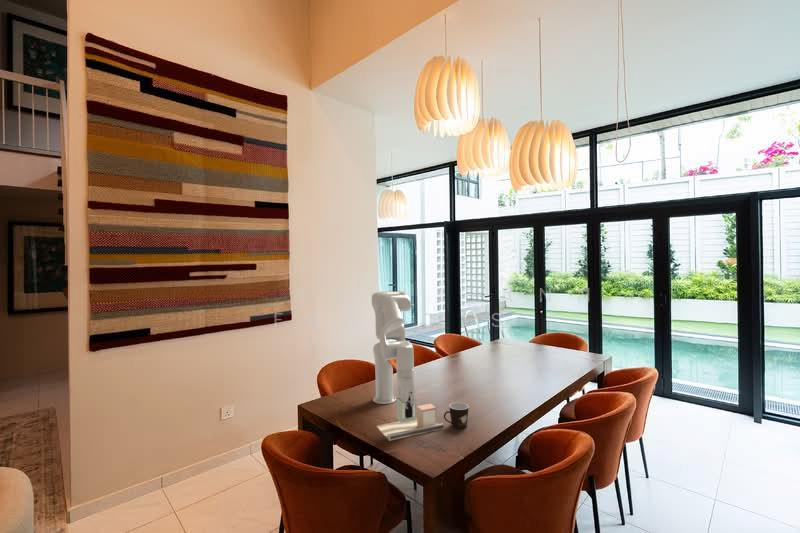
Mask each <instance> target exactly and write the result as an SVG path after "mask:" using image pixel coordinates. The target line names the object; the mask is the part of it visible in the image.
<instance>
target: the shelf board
mask: <svg viewBox="0 0 800 533" xmlns="http://www.w3.org/2000/svg"><path fill="white" fill-rule="evenodd" d="M376 428H378V430H379V431H380V432H381V433H382V434H383V436H385V438H386V439H387V440H388V441H390V442H391V441H395V440H398V439H403V438H408V437H413V436H417V435H423V434H427V433H433V432H435V431H441V430H445V424H444V423H443V422H441V423H437V422H436V425H431V426H426V427H421V428H419V427H418V426H417V417H416V420H412V421H407V422H402V423H401V422H400V421H399V420H397V421H394V422H389V423H383V424H379V425H376Z"/></svg>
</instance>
